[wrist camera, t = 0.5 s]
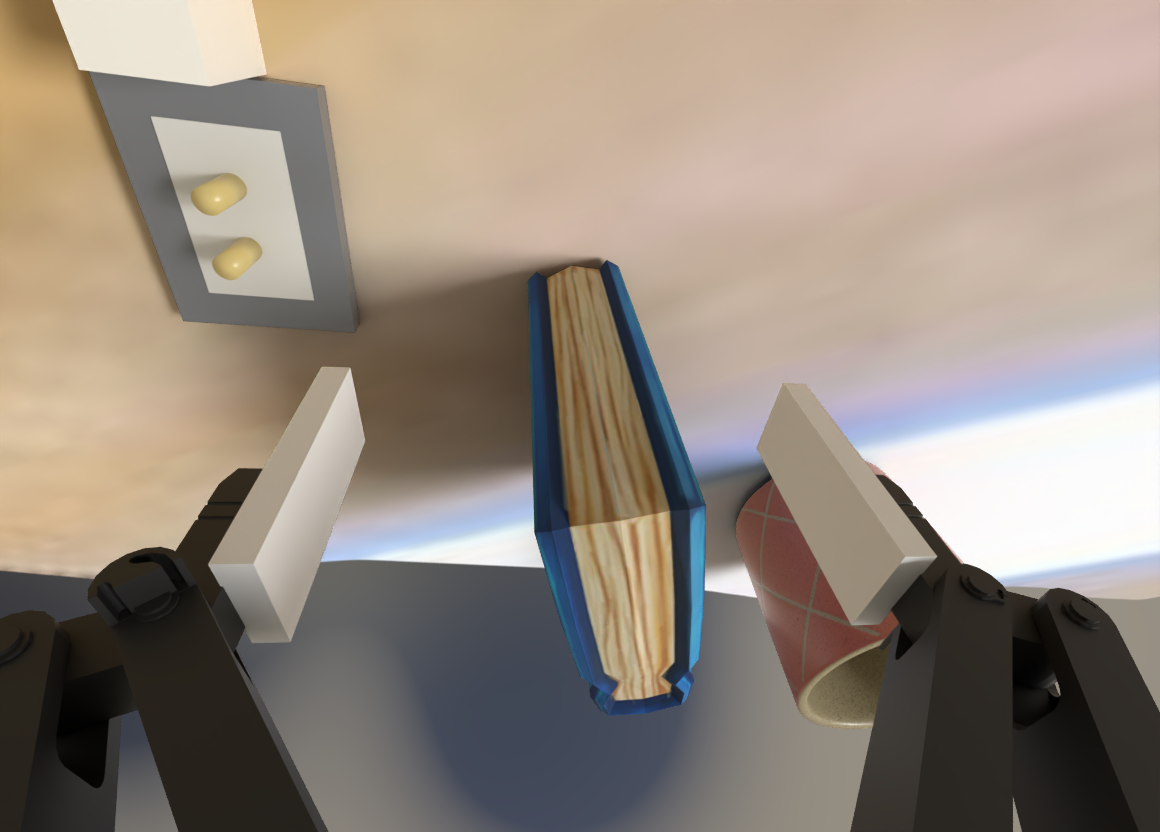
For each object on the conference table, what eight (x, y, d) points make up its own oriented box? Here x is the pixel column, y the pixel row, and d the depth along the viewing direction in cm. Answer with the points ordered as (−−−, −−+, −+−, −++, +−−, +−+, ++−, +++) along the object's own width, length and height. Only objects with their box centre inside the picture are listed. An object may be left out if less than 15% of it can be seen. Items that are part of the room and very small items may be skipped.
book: (636, 459, 52) (704, 725, 33) (568, 470, 52) (595, 741, 33) (616, 255, 39) (711, 496, 19) (525, 270, 39) (527, 526, 19)
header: (101, 56, 29) (35, 61, 25) (324, 85, 31) (295, 95, 27) (193, 311, 39) (156, 345, 35) (359, 323, 40) (342, 356, 37)
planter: (776, 432, 52) (887, 613, 36) (926, 459, 56) (1083, 630, 40) (700, 549, 63) (759, 727, 47) (830, 564, 67) (925, 731, 51)
